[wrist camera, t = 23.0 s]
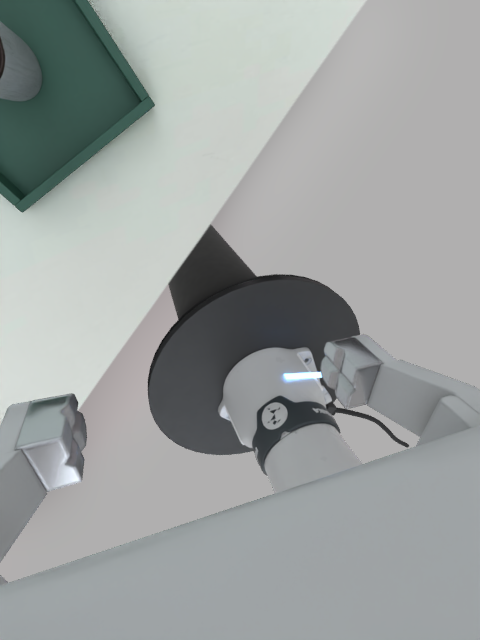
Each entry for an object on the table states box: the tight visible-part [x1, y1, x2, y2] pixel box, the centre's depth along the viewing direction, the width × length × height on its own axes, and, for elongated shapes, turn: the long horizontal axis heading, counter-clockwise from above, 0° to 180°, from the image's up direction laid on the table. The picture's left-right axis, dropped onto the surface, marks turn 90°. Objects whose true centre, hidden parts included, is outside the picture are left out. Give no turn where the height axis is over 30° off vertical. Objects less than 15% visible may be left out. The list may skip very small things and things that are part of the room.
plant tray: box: [0, 0, 155, 212], centre depth 24 cm, size 16×16×2 cm
